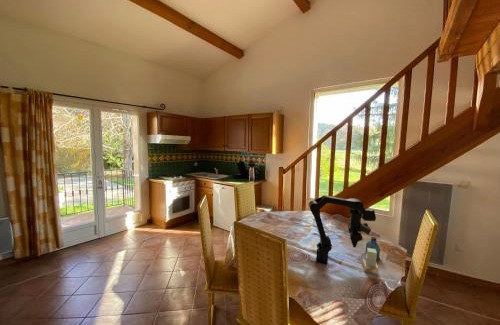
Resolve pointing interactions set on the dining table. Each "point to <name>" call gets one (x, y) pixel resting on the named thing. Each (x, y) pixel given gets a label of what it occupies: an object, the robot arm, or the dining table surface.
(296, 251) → the dining table surface
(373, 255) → the sage cube
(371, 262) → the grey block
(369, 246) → the perfume bottle
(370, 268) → the beech slab
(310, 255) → the dining table surface
